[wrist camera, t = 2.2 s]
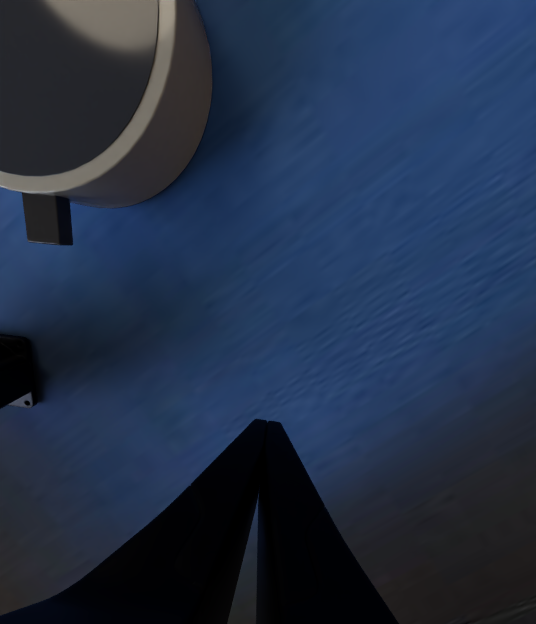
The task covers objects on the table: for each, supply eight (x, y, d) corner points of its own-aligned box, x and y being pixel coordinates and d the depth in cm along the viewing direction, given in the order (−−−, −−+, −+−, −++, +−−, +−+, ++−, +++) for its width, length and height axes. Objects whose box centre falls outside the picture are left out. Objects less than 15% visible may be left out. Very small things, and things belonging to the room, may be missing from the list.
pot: (3, 234, 20) (-100, 230, 15) (-50, -144, 15) (-234, -356, 10) (206, 255, 19) (173, 257, 14) (221, -142, 14) (179, -376, 9)
